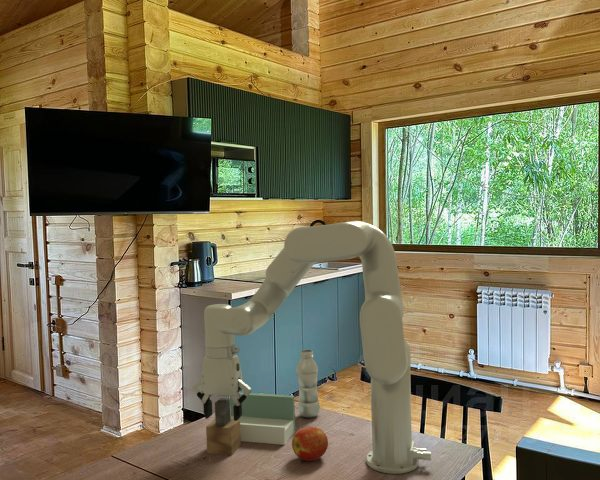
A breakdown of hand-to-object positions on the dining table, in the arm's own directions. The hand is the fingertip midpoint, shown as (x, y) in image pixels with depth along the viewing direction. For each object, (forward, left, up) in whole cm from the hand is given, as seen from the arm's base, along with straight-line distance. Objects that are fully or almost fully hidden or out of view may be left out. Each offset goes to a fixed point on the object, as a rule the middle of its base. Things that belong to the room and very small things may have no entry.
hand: (222, 417), depth 143 cm
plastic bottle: (-16, -27, -9) cm, 33 cm away
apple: (-24, +1, -9) cm, 26 cm away
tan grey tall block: (0, 0, -8) cm, 8 cm away
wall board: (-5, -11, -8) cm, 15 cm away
